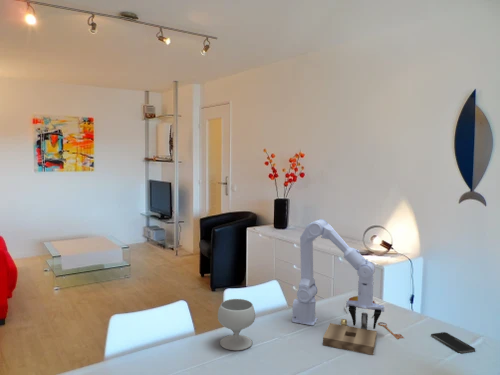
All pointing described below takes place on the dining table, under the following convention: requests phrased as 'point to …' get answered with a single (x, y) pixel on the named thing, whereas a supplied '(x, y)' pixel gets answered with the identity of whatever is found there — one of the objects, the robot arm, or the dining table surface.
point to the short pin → (344, 322)
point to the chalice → (236, 322)
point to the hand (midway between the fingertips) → (364, 326)
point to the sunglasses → (355, 298)
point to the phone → (453, 342)
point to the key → (391, 332)
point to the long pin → (364, 320)
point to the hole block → (350, 338)
